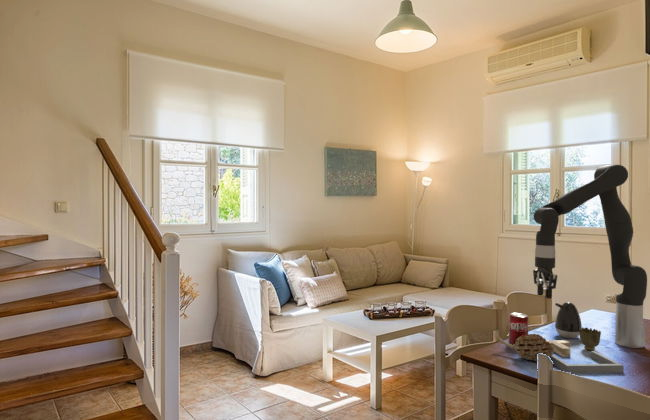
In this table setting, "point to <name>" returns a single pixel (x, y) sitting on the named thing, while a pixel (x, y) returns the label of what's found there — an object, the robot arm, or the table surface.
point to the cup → (589, 338)
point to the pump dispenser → (568, 321)
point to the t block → (560, 347)
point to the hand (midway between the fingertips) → (544, 296)
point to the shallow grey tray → (590, 365)
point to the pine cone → (530, 346)
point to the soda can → (517, 326)
